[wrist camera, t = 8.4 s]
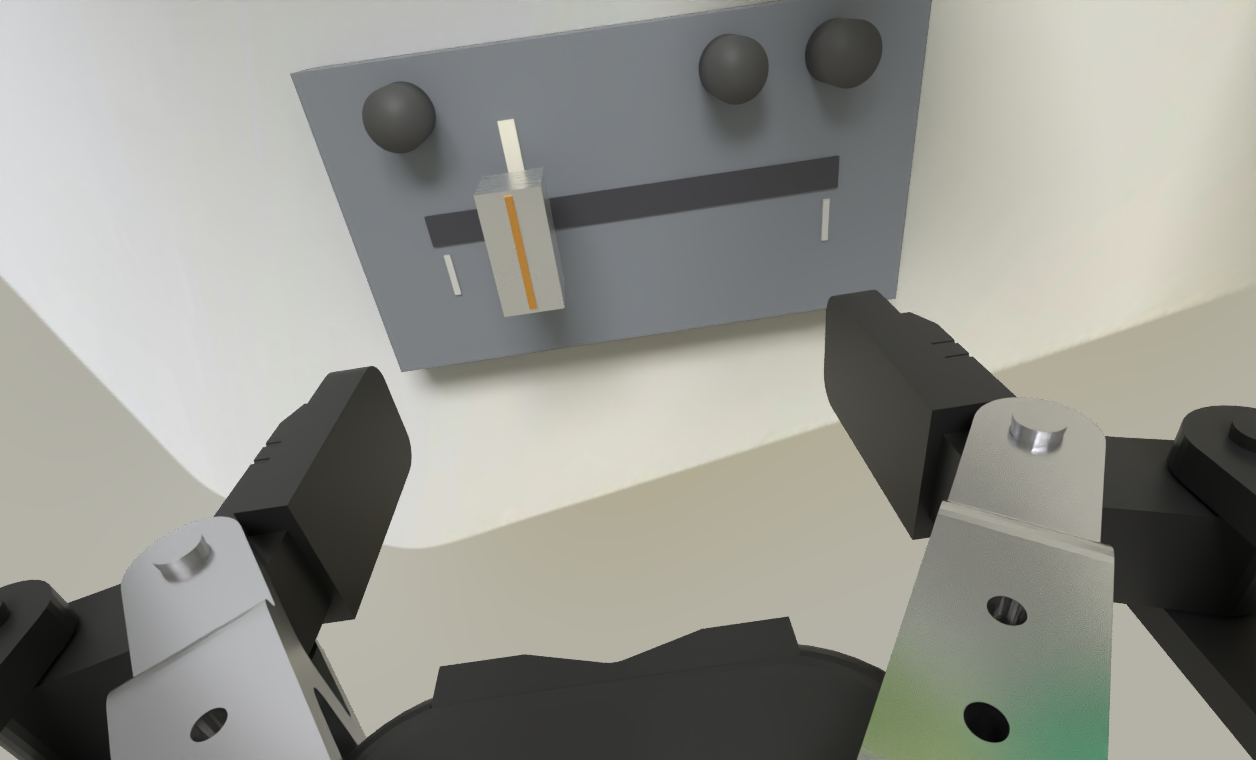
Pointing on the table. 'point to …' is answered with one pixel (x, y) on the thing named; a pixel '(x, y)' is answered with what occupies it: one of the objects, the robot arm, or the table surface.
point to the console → (632, 170)
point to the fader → (521, 241)
